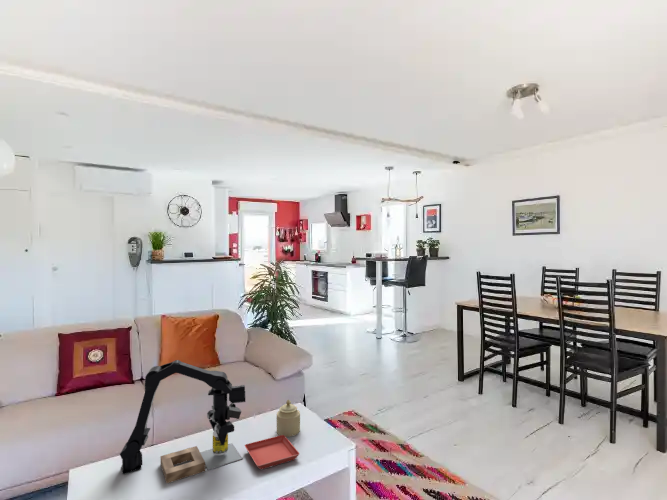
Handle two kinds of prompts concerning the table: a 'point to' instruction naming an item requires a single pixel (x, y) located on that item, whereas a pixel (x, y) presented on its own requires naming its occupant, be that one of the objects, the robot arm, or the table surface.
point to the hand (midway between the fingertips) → (220, 441)
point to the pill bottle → (219, 444)
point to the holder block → (186, 469)
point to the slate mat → (220, 457)
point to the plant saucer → (272, 451)
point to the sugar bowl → (288, 420)
